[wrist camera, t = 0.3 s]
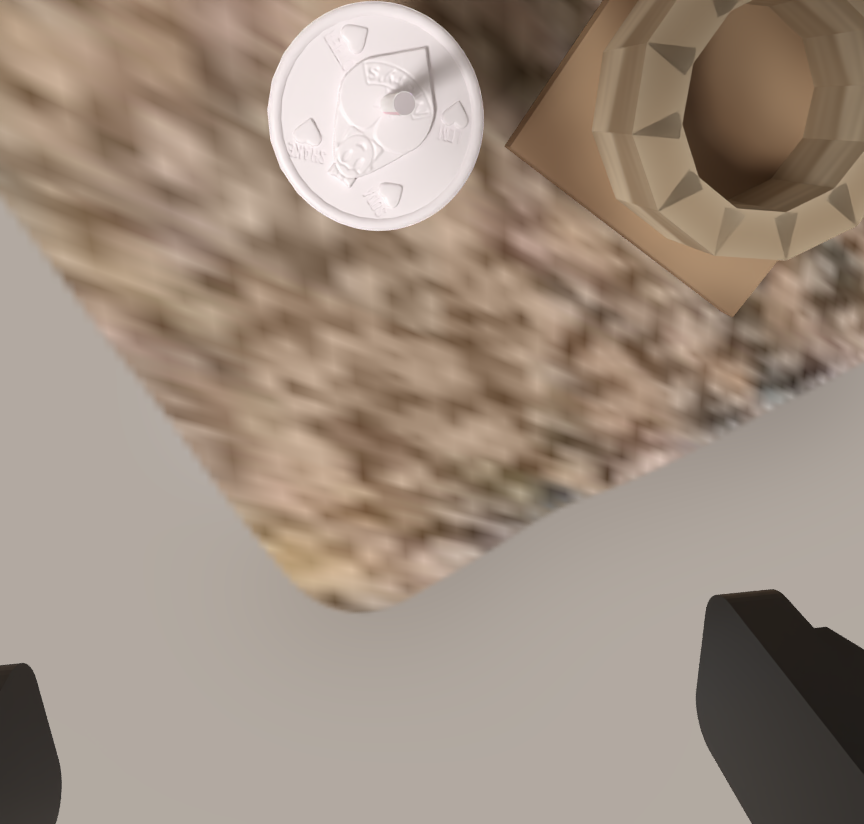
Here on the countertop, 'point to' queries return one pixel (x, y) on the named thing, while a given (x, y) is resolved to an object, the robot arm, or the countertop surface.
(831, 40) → the bottle holder
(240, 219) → the countertop surface
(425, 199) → the smoothie
